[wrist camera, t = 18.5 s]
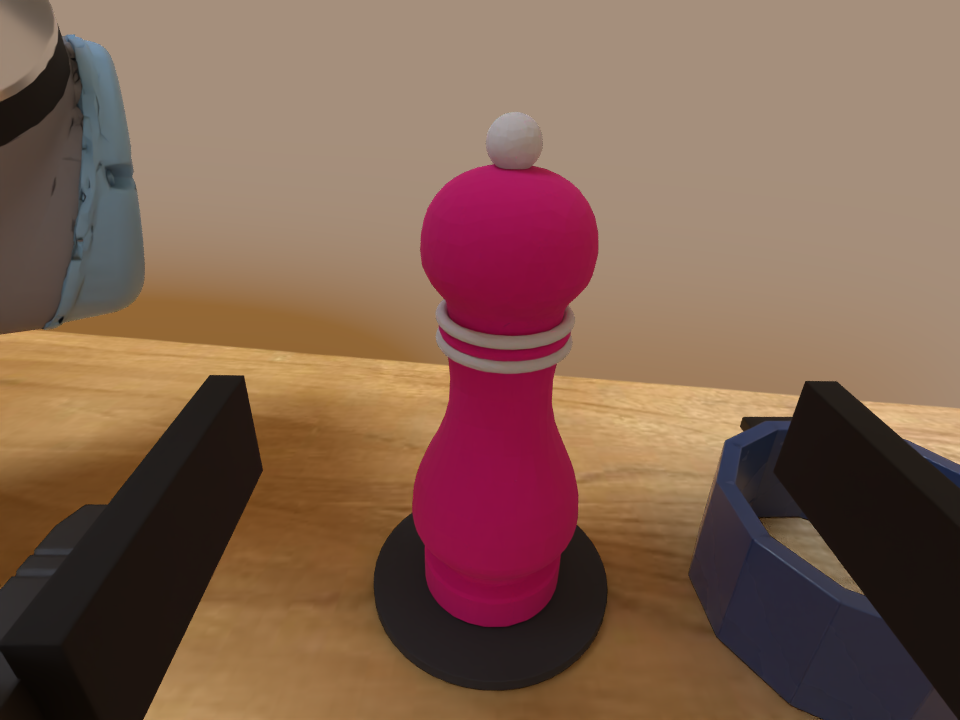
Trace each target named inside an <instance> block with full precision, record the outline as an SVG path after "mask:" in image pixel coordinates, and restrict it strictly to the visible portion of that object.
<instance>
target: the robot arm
mask: <svg viewBox="0 0 960 720" xmlns="http://www.w3.org/2000/svg"><path fill="white" fill-rule="evenodd" d="M132 175H133V165H132V159H131V145H130V139H129V133H128V127H127V121H126V116H125V110H124V105H123V100H122V95H121V90H120V86H119V81H118V77H117V74H116V70H115V66H114V63H113V61H112V58H111V56H110V54H109V53H108V51H107V50H106V49H105V48H104V47H102V46H101V45H100V44H97V43H95V42H91V41H86V40H83V39H81V38H79V37H75V35H66V36H61V33H60V30H59V27H58V23H57V20H56V17H55V15H54V12H53V9H52V6H51V4H50V3H49V1H48V0H0V334H7V333H15V332H22V331H29V330H35V329H44V330H48V329H54V328H57V327H58V326H60V325H62V324H63V323H64V322H69V321H74V320H79V319H83V318H89V317H93V316H98V315H103V314H108V313H112V312H116V311H119V310H122V309H124V308H126V307H127V306H129V305H130V304H131V303H133V302H134V301H135V299H136V298H137V297H138V295H139V294H140V292H141V290H142V287H143V283H144V273H145V272H144V271H145V266H144V265H145V264H144V248H143V237H142V226H141V218H140V209H139V203H138V195H137V190H136V185H135V182H134V180H133V178H132ZM262 471H263V468H262V463H261V458H260V453H259V448H258V443H257V438H256V433H255V428H254V423H253V418H252V413H251V408H250V403H249V398H248V393H247V388H246V383H245V378H244V376H236V375H210V376H209V377H208V378H207V379H206V381H205V382H204V383H203V384H202V386H201V387H200V388H199V390H198V391H197V392H196V393H195V395H194V396H193V397H192V398H191V400H190V401H189V402H188V403H187V405H186V406H185V407H184V409H183V410H182V411H181V412H180V414H179V415H178V416H177V417H176V419H175V420H174V421H173V423H172V424H171V425H170V426H169V428H168V429H167V430H166V431H165V433H164V434H163V435H162V436H161V438H160V439H159V440H158V442H157V443H156V444H155V445H154V447H153V448H152V449H151V450H150V452H149V453H148V454H147V455H146V457H145V458H144V459H143V461H142V462H141V463H140V464H139V466H138V467H137V468H136V469H135V471H134V472H133V473H132V475H131V476H130V477H129V478H128V480H127V481H126V482H125V483H124V485H123V486H122V487H121V488H120V490H119V491H118V492H117V494H116V495H115V496H114V497H113V499H112V500H111V501H110V502H109V504H108V505H84V506H83V507H81V508H80V509H79V510H77V511H76V512H74V513H73V514H71V515H70V516H69V517H67V518H66V519H64V520H63V521H62V522H60V523H59V524H57V525H56V526H55V527H54V528H53V529H52V530H51V532H50V533H49V534H48V535H47V536H46V537H45V539H44V540H43V541H42V542H41V543H40V544H39V545H38V547H37V548H36V549H35V550H34V555H30V556H29V557H28V558H27V559H26V561H25V562H24V563H23V564H22V565H21V566H20V567H19V569H18V570H17V571H16V572H17V573H16V576H14V577H11V578H10V579H9V580H8V581H7V583H6V584H5V585H4V586H3V587H2V588H1V589H0V720H143V719H144V717H145V715H146V713H147V711H148V709H149V707H150V705H151V703H152V700H153V698H154V696H155V694H156V692H157V690H158V688H159V686H160V684H161V682H162V680H163V677H164V675H165V673H166V671H167V669H168V667H169V665H170V663H171V661H172V659H173V657H174V655H175V652H176V650H177V648H178V646H179V644H180V642H181V640H182V638H183V636H184V634H185V632H186V630H187V627H188V625H189V623H190V621H191V619H192V617H193V615H194V613H195V611H196V609H197V607H198V605H199V602H200V600H201V598H202V596H203V594H204V592H205V590H206V588H207V586H208V584H209V582H210V580H211V577H212V575H213V573H214V571H215V569H216V567H217V565H218V563H219V561H220V559H221V557H222V554H223V552H224V550H225V548H226V546H227V544H228V542H229V540H230V538H231V536H232V534H233V532H234V529H235V527H236V525H237V523H238V521H239V519H240V517H241V515H242V513H243V511H244V509H245V507H246V504H247V502H248V500H249V498H250V496H251V494H252V492H253V490H254V488H255V486H256V484H257V482H258V479H259V477H260V475H261V473H262ZM773 473H774V474H775V475H776V477H777V478H778V479H779V481H780V482H781V483H782V485H783V486H784V487H785V489H786V490H787V491H788V493H789V494H790V495H791V497H792V498H793V500H794V501H795V502H796V504H797V505H798V506H799V508H800V509H801V510H802V512H803V513H804V514H805V516H806V517H807V518H808V520H809V521H810V522H811V524H812V525H813V526H814V528H815V529H816V530H817V532H818V533H819V534H820V536H821V537H822V538H823V540H824V541H825V542H826V544H827V545H828V546H829V548H830V549H831V550H832V552H833V553H834V554H835V556H836V557H837V558H838V560H839V561H840V562H841V564H842V565H843V566H844V568H845V569H846V570H847V572H848V573H849V574H850V576H851V577H852V578H853V580H854V581H855V582H856V584H857V585H858V586H859V588H860V589H861V590H862V592H863V593H864V595H865V596H866V597H867V599H868V600H869V601H870V603H871V604H872V605H873V607H874V608H875V609H876V611H877V612H878V613H879V615H880V616H881V617H882V619H883V620H884V621H885V623H886V624H887V625H888V627H889V628H890V629H891V631H892V632H893V633H894V635H895V636H896V637H897V639H898V640H899V641H900V643H901V644H902V645H903V647H904V648H905V649H906V651H907V652H908V653H909V655H910V656H911V657H912V659H913V660H914V661H915V663H916V664H917V665H918V667H919V668H920V669H921V671H922V672H923V673H924V675H925V676H926V677H927V679H928V680H929V681H930V683H931V684H932V685H933V687H934V688H935V690H936V691H937V692H938V694H939V695H940V696H941V698H942V699H943V700H944V702H945V703H946V704H947V706H948V707H949V708H950V710H951V711H952V712H953V714H954V715H955V716H956V718H957V719H958V720H960V488H959V487H958V486H956V485H955V484H954V483H953V482H952V481H951V480H950V479H948V478H947V477H946V476H945V475H944V474H943V473H942V472H940V471H939V470H938V469H937V468H936V467H935V466H933V465H932V464H931V463H930V462H929V461H928V460H927V459H925V458H924V457H923V456H922V455H921V454H920V453H918V452H917V451H916V450H915V449H914V448H913V447H912V446H910V445H909V444H908V443H907V442H906V441H905V440H904V439H902V438H901V437H900V436H899V435H898V434H897V433H895V432H894V431H893V430H892V429H891V428H890V427H889V426H887V425H886V424H885V423H884V422H883V421H882V420H881V419H879V418H878V417H877V416H876V415H875V414H874V413H872V412H871V411H870V410H869V409H868V408H867V407H866V406H864V405H863V404H862V403H861V402H860V401H859V400H857V399H856V398H855V397H854V396H853V395H852V394H851V393H849V392H848V391H847V390H846V389H845V388H844V387H843V386H841V385H840V384H839V383H838V382H836V381H835V382H834V381H805V384H804V387H803V389H802V392H801V395H800V398H799V400H798V403H797V406H796V409H795V412H794V414H793V417H792V420H791V423H790V426H789V428H788V431H787V434H786V437H785V440H784V442H783V445H782V448H781V451H780V454H779V456H778V459H777V462H776V465H775V468H774V471H773Z"/></svg>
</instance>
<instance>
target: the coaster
mask: <svg viewBox="0 0 960 720" xmlns="http://www.w3.org/2000/svg"><path fill="white" fill-rule="evenodd" d="M374 595H375V603H376V608H377V612H378V615H379V619H380V621H381V623H382V625H383V627H384V630H385V632H386V633H387V635H388V636H389V638H390V639H391V641H392V642H393V644H394V645H395V646H396V647H397V648H398V649H399V651H400V652H401V653H402V654H403V655H404V656H405V657H406V658H407V659H409V660H410V661H411V662H412V663H414V664H415V665H416V666H417V667H419V668H421V669H422V670H424V671H426V672H427V673H429V674H431V675H432V676H434V677H437V678H439V679H441V680H444V681H446V682H448V683H452V684H455V685H459V686H463V687H466V688H473V689H480V690H508V689H516V688H522V687H526V686H530V685H534V684H537V683H540V682H542V681H544V680H547V679H549V678H552V677H554V676H555V675H557V674H559V673H560V672H562V671H564V670H565V669H567V668H568V667H569V666H571V665H572V664H573V663H574V662H575V661H577V660H578V659H579V658H580V657H581V656H582V655H583V654H584V652H585V651H586V650H587V649H588V648H589V646H590V645H591V643H592V642H593V640H594V639H595V637H596V636H597V633H598V631H599V629H600V626H601V624H602V620H603V616H604V612H605V608H606V603H607V579H606V574H605V570H604V566H603V563H602V561H601V558H600V556H599V553H598V552H597V550H596V548H595V546H594V545H593V543H592V542H591V540H590V539H589V538H588V536H587V535H586V534H585V533H584V531H583V530H582V529H581V528H580V527H579V526H578V525H576V529H575V532H574V534H573V537H572V539H571V540H570V542H569V544H568V546H567V547H566V549H565V550H564V551H563V552H562V553H561V558H560V566H559V573H558V581H557V585H556V589H555V592H554V594H553V596H552V598H551V600H550V601H549V602H548V604H547V605H546V606H545V607H544V608H543V609H542V610H541V611H540V612H538V613H537V614H536V615H535V616H533V617H532V618H530V619H528V620H526V621H523V622H520V623H517V624H514V625H511V626H507V627H483V626H479V625H474V624H470V623H467V622H465V621H463V620H460V619H458V618H456V617H454V616H452V615H451V614H450V613H448V612H447V611H446V610H445V609H443V608H442V607H441V606H440V605H439V604H438V602H437V601H436V600H435V598H434V597H433V595H432V594H431V592H430V590H429V587H428V585H427V581H426V574H425V545H424V543H423V541H422V540H421V538H420V536H419V535H418V532H417V530H416V527H415V524H414V519H413V513H411V514H410V515H409V516H407V517H406V518H405V519H404V520H403V521H402V522H401V523H400V524H399V525H398V526H397V527H396V528H395V529H394V530H393V531H392V533H391V534H390V535H389V537H388V538H387V540H386V541H385V543H384V545H383V547H382V549H381V551H380V554H379V556H378V559H377V562H376V567H375V572H374Z"/></svg>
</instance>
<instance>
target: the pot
mask: <svg viewBox="0 0 960 720" xmlns="http://www.w3.org/2000/svg"><path fill="white" fill-rule="evenodd" d="M791 420H792V417H743V418H742V421H741V425H740V427H741V429H742V430H743V431H744V432H742V433H740V434H738V435H736V436H734V437H732V438H730V439H727V440H726V441H725V442H724V446H723V449H722V453H721V456H720V459H719V463H718V466H717V470H716V473H715V477H714V480H713V483H712V487H711V490H710V494H709V497H708V500H707V504H706V507H705V511H704V514H703V518H702V521H701V524H700V528H699V531H698V536H697V540H696V544H695V548H694V553H693V557H692V561H691V565H690V569H689V577H690V580H691V582H692V584H693V586H694V588H695V591H696V593H697V595H698V597H699V599H700V602H701V604H702V606H703V608H704V610H705V613H706V615H707V617H708V619H709V621H710V624H711V626H712V628H713V630H714V632H715V635H716V637H717V638H719V640H720V641H722V642H723V643H724V644H725V645H726V646H727V647H728V648H729V649H730V650H731V651H732V652H733V653H735V654H736V655H737V656H738V657H739V658H740V659H741V660H742V661H743V662H744V663H745V664H747V665H748V666H749V667H750V668H751V669H752V670H753V671H754V672H755V673H756V674H757V675H758V676H760V677H761V678H762V679H763V680H764V681H765V682H766V683H767V684H768V685H769V686H770V687H772V688H773V689H774V690H775V691H776V692H777V693H778V694H779V695H780V696H781V697H782V698H783V699H785V700H786V701H787V702H788V703H790V705H791V706H794V707H796V708H798V709H801V710H803V711H805V712H807V713H810V714H812V715H814V716H817V717H819V718H821V719H823V720H958V719H957V718H956V716H955V715H954V714H953V712H952V711H951V710H950V708H949V707H948V706H947V704H946V703H945V702H944V700H943V699H942V698H941V696H940V695H939V694H938V692H937V691H936V690H935V688H934V687H933V685H932V684H931V683H930V681H929V680H928V679H927V677H926V676H925V675H924V673H923V672H922V671H921V669H920V668H919V667H918V665H917V664H916V663H915V661H914V660H913V659H912V657H911V656H910V655H909V653H908V652H907V651H906V649H905V648H904V647H903V645H902V644H901V643H900V641H899V640H898V639H897V637H896V636H895V635H894V633H893V632H892V631H891V629H890V628H889V627H888V625H887V624H886V623H885V621H884V620H883V619H882V617H881V616H880V615H879V613H878V612H877V611H876V609H875V608H874V607H873V605H872V604H871V603H870V601H869V600H868V599H867V597H866V596H865V595H862V594H859V593H856V592H853V591H851V590H848V589H845V588H843V587H842V586H841V585H839V584H838V583H836V582H835V581H833V580H832V579H831V578H829V577H828V576H826V575H825V574H824V573H822V572H821V571H819V570H818V569H816V568H815V567H814V566H812V565H811V564H809V563H808V562H807V561H805V560H804V559H802V558H801V557H799V556H798V555H797V554H795V553H794V552H792V551H791V550H789V549H788V548H787V547H785V546H784V545H782V544H781V543H780V542H778V541H777V540H775V539H774V538H772V537H771V536H770V535H769V534H768V532H767V530H766V529H765V527H764V526H763V524H762V523H761V521H760V520H759V518H758V517H801V518H805V519H808V518H807V517H806V516H805V514H804V513H803V512H802V510H801V509H800V508H799V506H798V505H797V504H796V502H795V501H794V500H793V498H792V497H791V495H790V494H789V493H788V491H787V490H786V489H785V487H784V486H783V485H782V483H781V482H780V481H779V479H778V478H777V477H776V475H775V474H774V473H773V471H774V468H775V465H776V462H777V459H778V456H779V454H780V451H781V448H782V445H783V442H784V440H785V437H786V434H787V431H788V428H789V426H790V423H791ZM904 440H905V439H904ZM905 441H906V442H907V443H908V444H909V445H910V446H912V447H913V448H914V449H915V450H916V451H917V452H918V453H920V454H921V455H922V456H923V457H924V458H925V459H927V460H928V461H929V462H930V463H931V464H932V465H933V466H935V467H936V468H937V469H938V470H939V471H940V472H942V473H943V474H944V475H945V476H946V477H947V478H948V479H950V480H951V481H952V482H953V483H954V484H955V485H956V486H958V487H959V488H960V465H959V464H957V463H954V462H952V461H950V460H948V459H946V458H944V457H942V456H940V455H938V454H935V453H933V452H931V451H929V450H927V449H925V448H923V447H921V446H919V445H916V444H914V443H912V442H910V441H908V440H905Z"/></svg>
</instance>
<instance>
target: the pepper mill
mask: <svg viewBox="0 0 960 720" xmlns="http://www.w3.org/2000/svg"><path fill="white" fill-rule="evenodd" d="M542 146H543V141H542V132H541V130H540V127H539V126H538V125H537V123H536V122H535V121H534V120H533V119H532V118H531V117H530V116H528V115H526V114H523V113H518V112H512V113H506V114H504V115H502V116H500V117H499V118H498V119H496V120H495V121H494V123H493V124H492V125H491V127H490V129H489V131H488V133H487V139H486V148H487V152H488V155H489V157H490V159H491V160H492V162H493V163H494V164H493V165H487V166H482V167H477V168H475V169H472V170H469V171H467V172H464V173H462V174H460V175H459V176H457V177H455V178H454V179H452V180H451V181H449V182H448V183H447V184H446V185H445V186H444V187H443V188H442V189H441V190H440V191H439V192H438V193H437V194H436V196H435V197H434V199H433V200H432V202H431V204H430V205H429V207H428V209H427V212H426V215H425V218H424V222H423V227H422V232H421V247H420V252H421V260H422V266H423V268H424V271H425V273H426V275H427V277H428V278H429V280H430V282H431V284H432V285H433V287H434V288H435V289H436V290H437V291H438V292H439V294H440V295H441V296H442V297H443V298H444V300H443V301H442V302H441V303H440V304H439V305H438V307H437V310H436V320H437V322H438V324H439V328H438V329H437V333H436V341H437V344H438V347H439V348H440V349H441V351H442V352H443V353H444V354H445V355H446V356H448V360H449V370H450V393H449V402H448V406H447V410H446V413H445V417H444V419H443V421H442V423H441V425H440V427H439V429H438V431H437V433H436V434H435V436H434V437H433V439H432V441H431V442H430V444H429V446H428V448H427V450H426V452H425V454H424V457H423V459H422V461H421V463H420V466H419V469H418V472H417V475H416V479H415V483H414V490H413V503H412V512H413V519H414V524H415V527H416V530H417V532H418V535H419V536H420V538H421V540H422V541H423V543H424V545H425V574H426V581H427V585H428V587H429V590H430V592H431V594H432V595H433V597H434V598H435V600H436V601H437V602H438V604H439V605H440V606H441V607H442V608H443V609H445V610H446V611H447V612H448V613H450V614H451V615H452V616H454V617H456V618H458V619H460V620H463V621H465V622H467V623H470V624H474V625H479V626H483V627H507V626H511V625H514V624H517V623H520V622H523V621H526V620H528V619H530V618H532V617H533V616H535V615H536V614H537V613H538V612H540V611H541V610H542V609H543V608H544V607H545V606H546V605H547V604H548V602H549V601H550V600H551V598H552V596H553V594H554V592H555V589H556V585H557V581H558V573H559V566H560V558H561V553H562V552H563V551H564V550H565V549H566V547H567V546H568V544H569V542H570V540H571V539H572V537H573V534H574V532H575V529H576V525H577V519H578V489H577V483H576V479H575V474H574V470H573V467H572V464H571V461H570V458H569V456H568V453H567V451H566V448H565V446H564V444H563V441H562V439H561V436H560V434H559V432H558V429H557V426H556V423H555V420H554V414H553V408H552V388H553V377H554V373H555V368H556V365H557V363H559V362H560V361H561V360H563V359H564V358H565V357H566V356H567V355H568V354H569V352H570V350H571V347H572V337H571V335H570V333H571V330H572V329H573V327H574V323H575V317H574V313H573V311H572V310H571V308H570V307H569V306H568V305H569V303H570V302H571V301H573V300H574V299H575V298H576V297H577V296H578V295H579V294H580V293H581V292H582V291H583V290H584V289H585V288H586V286H587V285H588V283H589V281H590V279H591V277H592V275H593V272H594V268H595V264H596V260H597V256H598V230H597V225H596V220H595V216H594V214H593V211H592V209H591V207H590V205H589V203H588V201H587V200H586V199H585V197H584V196H583V195H582V193H581V192H580V190H579V189H578V188H576V187H575V186H574V185H573V184H572V183H571V182H570V181H568V180H566V179H565V178H563V177H562V176H560V175H558V174H556V173H554V172H551V171H549V170H547V169H543V168H539V167H535V166H532V165H533V164H534V163H535V162H536V161H537V159H538V158H539V156H540V154H541V151H542Z"/></svg>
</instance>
